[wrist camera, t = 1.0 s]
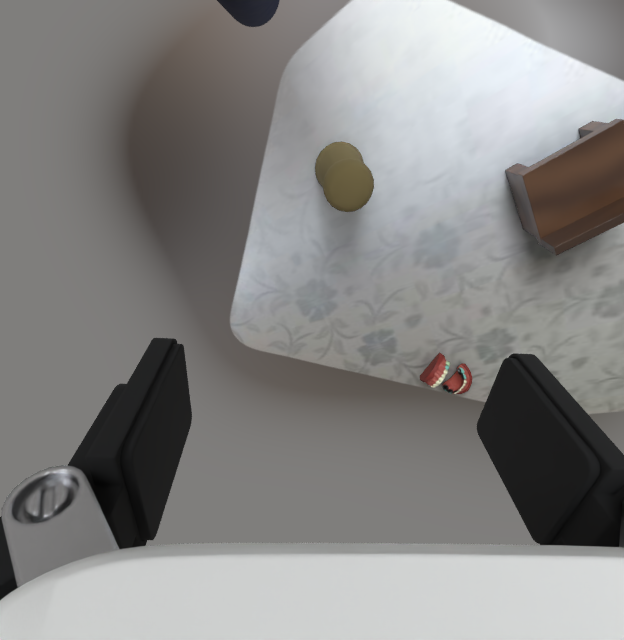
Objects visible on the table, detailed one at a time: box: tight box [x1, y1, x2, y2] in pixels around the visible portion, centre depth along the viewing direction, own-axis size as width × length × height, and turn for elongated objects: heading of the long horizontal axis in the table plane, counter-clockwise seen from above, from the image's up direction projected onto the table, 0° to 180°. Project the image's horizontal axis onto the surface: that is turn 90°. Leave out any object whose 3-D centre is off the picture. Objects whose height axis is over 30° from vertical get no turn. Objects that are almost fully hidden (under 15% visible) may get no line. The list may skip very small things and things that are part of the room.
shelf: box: [505, 119, 624, 255], centre depth 45 cm, size 10×11×8 cm
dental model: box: [420, 353, 472, 394], centre depth 63 cm, size 6×4×8 cm
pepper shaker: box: [315, 142, 374, 212], centre depth 43 cm, size 6×6×11 cm
